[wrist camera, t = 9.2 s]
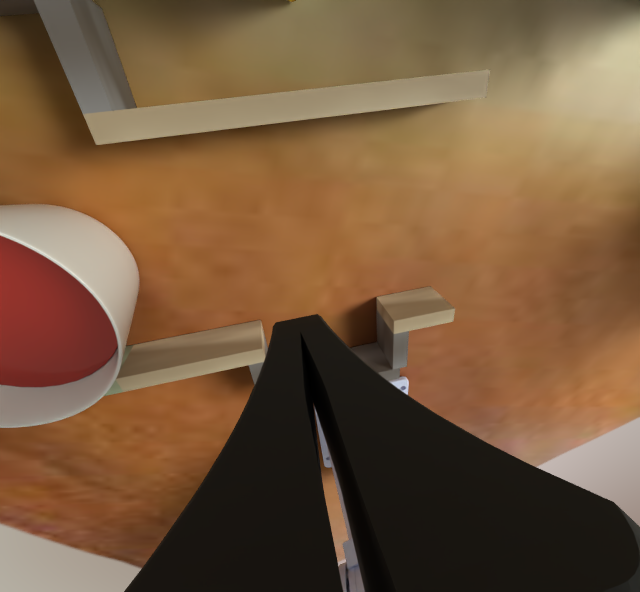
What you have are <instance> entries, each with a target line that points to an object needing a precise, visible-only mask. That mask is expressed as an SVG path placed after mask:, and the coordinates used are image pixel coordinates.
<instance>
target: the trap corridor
mask: <svg viewBox="0 0 640 592" xmlns="http://www.w3.org/2000/svg"><path fill="white" fill-rule="evenodd" d="M34 13H39V14H40V16H41V18H42V21H43V23H44V25H45V28H46V30H47V32H48V35H49V37H50V39H51V42H52V44H53V46H54V48H55V51H56V53H57V55H58V58H59V60H60V62H61V65H62V67H63V69H64V72H65V74H66V76H67V78H68V81H69V83H70V85H71V88H72V90H73V92H74V95H75V97H76V99H77V102H78V104H79V106H80V109H81V111H82V113H83V115H84V118H85V120H86V122H87V125H88V127H89V129H90V132H91V134H92V136H93V139H94V141H95V143H96V145H101V144H109V143H118V142H126V141H134V140H142V139H151V138H159V137H167V136H175V135H183V134H192V133H200V132H208V131H216V130H224V129H233V128H241V127H249V126H257V125H265V124H274V123H282V122H290V121H298V120H307V119H315V118H323V117H331V116H339V115H348V114H356V113H364V112H372V111H380V110H389V109H397V108H405V107H413V106H421V105H430V104H438V103H446V102H454V101H463V100H471V99H479V98H486V95H487V88H488V81H489V75H490V69H488V70H479V71H470V72H461V73H452V74H442V75H433V76H424V77H415V78H406V79H397V80H388V81H379V82H370V83H361V84H352V85H342V86H333V87H324V88H315V89H306V90H297V91H288V92H279V93H270V94H261V95H252V96H242V97H233V98H224V99H215V100H206V101H197V102H188V103H179V104H170V105H161V106H152V107H142V108H137V107H136V104H135V101H134V98H133V95H132V93H131V90H130V87H129V84H128V81H127V78H126V76H125V73H124V70H123V67H122V64H121V61H120V58H119V56H118V53H117V50H116V47H115V44H114V41H113V39H112V36H111V33H110V30H109V27H108V24H107V22H106V19H105V16H104V13H103V10H102V8H101V7H99V6H98V5H97V4H95V3H94V2H93V1H92V0H0V16H7V15H21V14H34ZM376 299H377V342H375V343H371V344H366V345H361V346H357V347H352V348H350V349H351V350H352V351H353V352H355V353H356V354H357V355H358V356H359V357H360V358H361V359H362V360H363V361H364V362H366V363H367V364H368V365H369V366H370V367H371V368H373V369H374V370H375V371H376V372H378V373H379V374H380V375H381V376H382V377H384V378H385V379H386V380H388V381H391V380H395V379H399V376H400V368H402V367H406V366H407V355H408V337H409V331H411V330H416V329H420V328H425V327H430V326H434V325H439V324H444V323H448V322H453V319H454V312H455V308H454V307H453V306H452V305H451V304H450V303H449V302H447V301H446V300H445V299H444V298H443V297H442V296H441V295H440V294H438V293H437V292H436V291H435V290H434V289H433V288H432V287H431V286H430V287H425V288H420V289H415V290H410V291H405V292H399V293H394V294H389V295H384V296H379V297H376ZM267 351H268V347H267V343H266V339H265V335H264V331H263V327H262V323H261V320H257V321H252V322H247V323H242V324H237V325H232V326H227V327H222V328H217V329H212V330H207V331H201V332H196V333H191V334H186V335H181V336H176V337H171V338H166V339H161V340H156V341H151V342H146V343H141V344H135V345H130V346H126V348H125V352H124V356H123V360H122V364H121V368H120V371H119V373H118V376H117V378H116V380H115V382H114V383H113V385H112V386H111V388H110V389H109V390H108V392H107V393H106V394H105V395H104V396H106V395H111V394H116V393H120V392H125V391H130V390H134V389H139V388H144V387H149V386H153V385H158V384H163V383H167V382H172V381H177V380H181V379H186V378H191V377H195V376H200V375H205V374H209V373H214V372H219V371H223V370H228V369H233V368H238V367H242V366H247V365H249V368H250V371H251V375H252V378H253V381H254V385H255V384H256V381H257V379H258V376H259V374H260V371H261V368H262V365H263V363H264V360H265V357H266V354H267Z"/></svg>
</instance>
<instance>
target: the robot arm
mask: <svg viewBox="0 0 640 592" xmlns="http://www.w3.org/2000/svg"><path fill="white" fill-rule="evenodd" d="M408 384H409V382H408V380H407V378H406V377H399V379H395V380H391V381H388V380H386V379H385V378H384V377H382V376H381V375H380V374H379V373H378V372H376V371H375V370H374V369H373V368H371V367H370V366H369V365H368V364H367V363H366V362H364V361H363V360H362V359H361V358H360V357H359V356H358V355H357V354H356V353H355V352H353V351H352V350H351V349H350V348H349V347H348V346H347V345H346V344H345V343H344V342H343V341H342V340H341V339H340V338H339V337H338V336H337V335H336V334H335V333H334V332H333V330H332V329H331V328H330V327H329V326H328V325H327V324H326V322H325V321H324V320H323V318H322V317H321V316H319V315H318V314H316V315H311V316H306V317H301V318H296V319H291V320H286V321H281V322H276V323H275V325H274V326H273V331H272V336H271V340H270V344H269V347H268V351H267V354H266V357H265V360H264V363H263V365H262V368H261V371H260V374H259V376H258V379H257V381H256V384H255V386H254V388H253V390H252V393H251V395H250V397H249V400H248V402H247V404H246V406H245V408H244V410H243V412H242V414H241V416H240V418H239V420H238V422H237V424H236V426H235V428H234V430H233V432H232V433H231V435H230V437H229V439H228V441H227V443H226V444H225V446H224V448H223V449H222V451H221V453H220V454H219V456H218V458H217V459H216V461H215V463H214V464H213V466H212V468H211V469H210V471H209V473H208V474H207V476H206V477H205V479H204V481H203V482H202V484H201V485H200V487H199V488H198V490H197V491H196V493H195V494H194V496H193V497H192V499H191V500H190V502H189V503H188V505H187V506H186V507H185V509H184V510H183V512H182V513H181V515H180V516H179V517H178V519H177V520H176V522H175V523H174V525H173V526H172V527H171V529H170V530H169V532H168V533H167V535H166V536H165V537H164V539H163V540H162V542H161V543H160V545H159V546H158V547H157V549H156V550H155V552H154V553H153V554H152V556H151V557H150V558H149V560H148V561H147V563H146V564H145V565H144V567H143V568H142V569H141V571H140V572H139V573H138V575H137V576H136V577H135V578H134V580H133V581H132V582H131V584H130V585H129V586H128V587H127V589H126V590H125V591H124V592H640V527H639V526H638V525H637V524H636V523H635V522H634V521H633V520H632V519H631V518H630V517H629V516H628V515H627V514H626V513H625V512H624V511H622V510H621V509H620V508H619V507H618V506H617V505H616V504H615V503H614V502H612V501H610V500H608V499H605V498H603V497H601V496H598V495H596V494H594V493H592V492H590V491H587V490H585V489H583V488H581V487H579V486H576V485H574V484H572V483H570V482H568V481H565V480H563V479H561V478H559V477H556V476H554V475H552V474H550V473H547V472H545V471H543V470H541V469H539V468H536V467H534V466H532V465H530V464H528V463H526V462H524V461H522V460H520V459H518V458H516V457H514V456H512V455H510V454H508V453H506V452H504V451H502V450H500V449H498V448H496V447H494V446H492V445H490V444H488V443H486V442H484V441H483V440H481V439H479V438H477V437H476V436H474V435H472V434H470V433H469V432H467V431H465V430H463V429H462V428H460V427H458V426H456V425H455V424H453V423H451V422H449V421H448V420H446V419H444V418H442V417H441V416H439V415H437V414H436V413H434V412H433V411H431V410H429V409H428V408H426V407H425V406H423V405H422V404H420V403H419V402H417V401H416V400H414V399H413V398H411V397H410V396H408ZM313 403H314V407H313ZM314 408H315V414H316V420H317V426H318V432H319V438H320V444H321V449H322V455H323V461H324V466H325V467H327V468H329V467H332V470H333V474H334V478H335V483H336V487H337V491H338V495H339V500H340V504H341V508H342V512H343V517H344V521H345V525H346V529H347V534H348V538H349V540H348V541H346V542H344V543H343V549H344V553H345V558H346V563H343V564H341V565H339V567H338V562H337V557H336V552H335V547H334V542H333V537H332V532H331V526H330V521H329V516H328V511H327V506H326V501H325V496H324V490H323V483H322V476H321V468H320V459H319V450H318V442H317V433H316V424H315V416H314Z"/></svg>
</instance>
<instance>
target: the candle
mask: <svg viewBox="0 0 640 592" xmlns="http://www.w3.org/2000/svg"><path fill="white" fill-rule="evenodd" d="M139 284H140V280H139V272H138V268H137V264H136V262H135V259H134V257H133V255H132V254H131V252H130V250H129V249H128V247H127V246H126V245H125V243H124V242H123V241H122V240H121V239H120V238H119V237H118V236H117V235H116V234H115V233H114V232H113V231H112V230H110V229H109V228H108V227H106V226H105V225H104V224H102V223H101V222H99V221H97V220H96V219H94V218H92V217H90V216H88V215H86V214H83V213H81V212H78V211H76V210H73V209H69V208H66V207H61V206H56V205H49V204H12V205H0V428H14V427H27V426H35V425H41V424H46V423H51V422H55V421H58V420H62V419H65V418H68V417H70V416H73V415H75V414H77V413H79V412H81V411H83V410H85V409H87V408H88V407H90V406H92V405H93V404H94V403H96V402H97V401H98V400H100V399H101V398H102V397H103V396H104V395H105V394H106V393H107V392H108V390H109V389H110V388H111V386H112V385H113V383H114V382H115V380H116V378H117V376H118V373H119V371H120V368H121V364H122V360H123V356H124V352H125V348H126V344H127V340H128V336H129V332H130V328H131V323H132V319H133V315H134V311H135V307H136V302H137V298H138V293H139Z"/></svg>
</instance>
